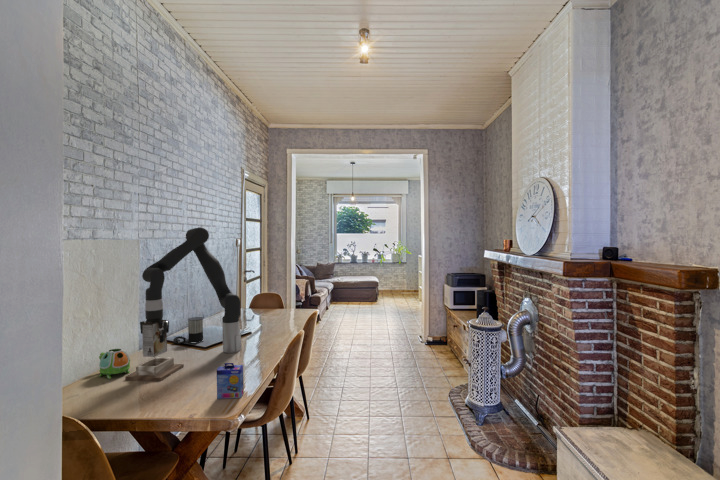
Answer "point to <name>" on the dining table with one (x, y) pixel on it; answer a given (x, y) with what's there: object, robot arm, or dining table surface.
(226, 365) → the ink cartridge box
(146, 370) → the frame
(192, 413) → the dining table surface
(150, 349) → the coffee box
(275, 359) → the dining table surface
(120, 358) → the turtle holder
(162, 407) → the dining table surface
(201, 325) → the milk frother
